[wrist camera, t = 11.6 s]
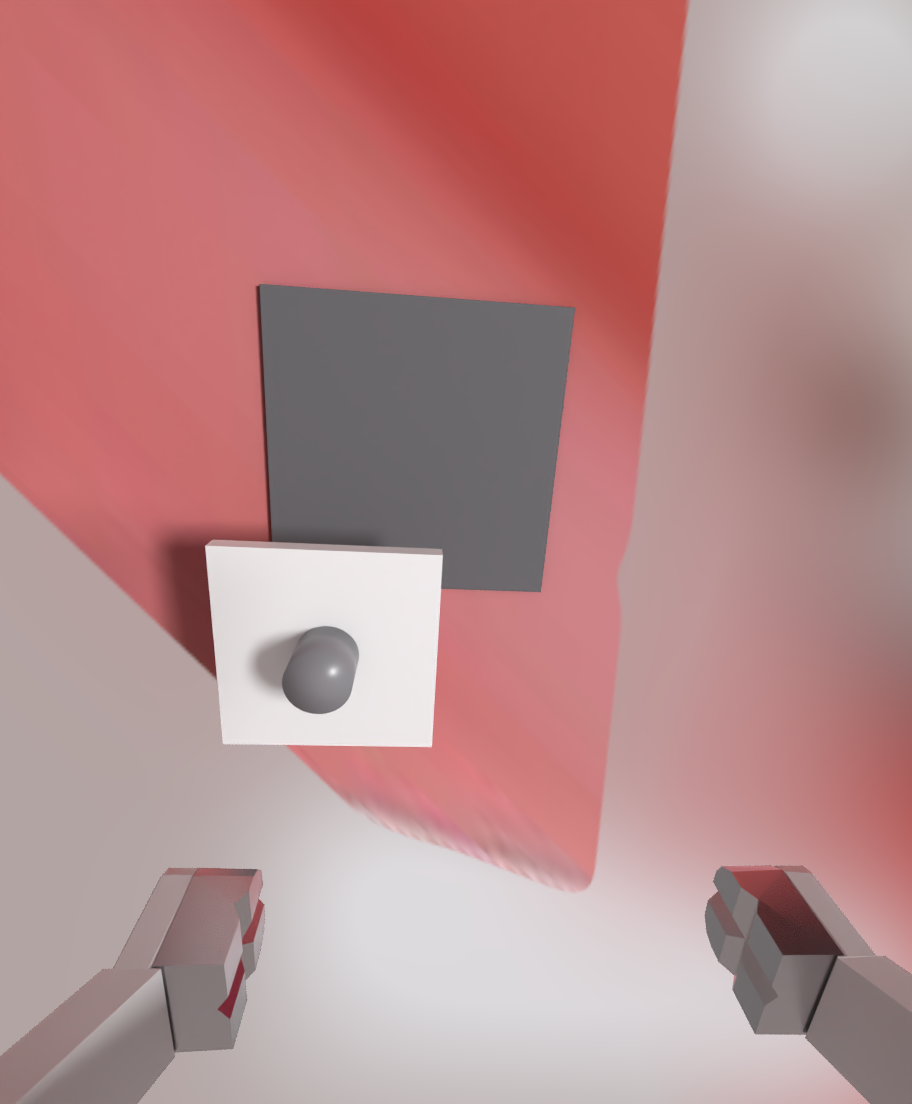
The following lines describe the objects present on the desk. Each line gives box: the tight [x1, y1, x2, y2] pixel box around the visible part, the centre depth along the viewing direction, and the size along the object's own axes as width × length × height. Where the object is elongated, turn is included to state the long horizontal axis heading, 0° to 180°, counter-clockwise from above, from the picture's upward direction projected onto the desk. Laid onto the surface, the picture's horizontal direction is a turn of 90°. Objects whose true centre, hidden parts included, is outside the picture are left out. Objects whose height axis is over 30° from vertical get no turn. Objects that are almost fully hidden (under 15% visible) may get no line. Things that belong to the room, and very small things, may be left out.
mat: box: [260, 284, 575, 592], centre depth 38 cm, size 20×20×1 cm
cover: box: [205, 540, 443, 747], centre depth 33 cm, size 14×14×5 cm
